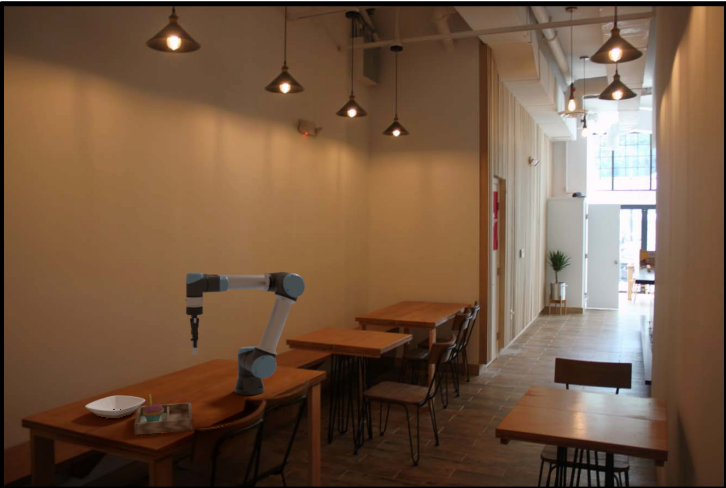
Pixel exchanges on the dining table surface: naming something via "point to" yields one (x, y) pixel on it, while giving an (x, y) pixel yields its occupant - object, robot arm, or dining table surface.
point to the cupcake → (152, 411)
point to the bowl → (115, 406)
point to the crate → (165, 419)
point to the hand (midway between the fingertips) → (194, 351)
